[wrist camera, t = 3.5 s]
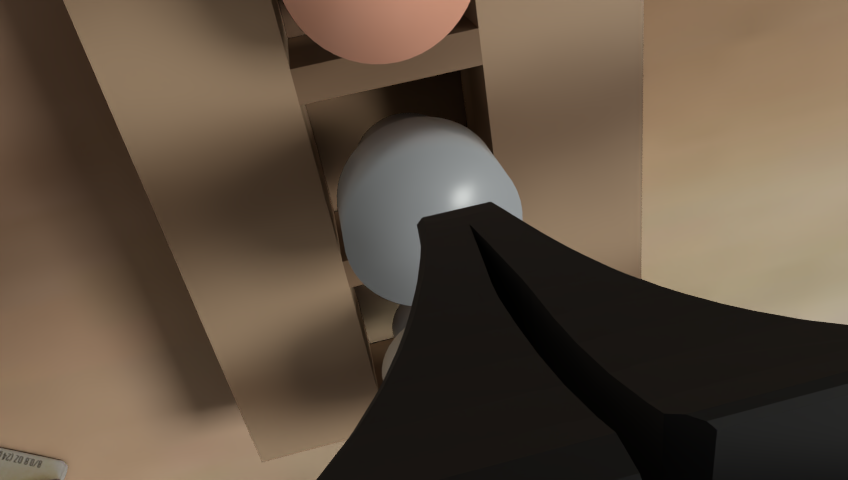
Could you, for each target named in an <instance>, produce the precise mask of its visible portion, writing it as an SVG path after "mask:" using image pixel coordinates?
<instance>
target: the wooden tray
mask: <svg viewBox="0 0 848 480" xmlns="http://www.w3.org/2000/svg"><path fill="white" fill-rule="evenodd" d="M63 1H64V4H65V6H66V8H67V11H68V13H69V15H70V18H71V20H72V22H73V25H74V27H75V29H76V32H77V34H78V36H79V39H80V41H81V43H82V46H83V48H84V50H85V53H86V55H87V57H88V59H89V62H90V64H91V66H92V69H93V71H94V73H95V76H96V78H97V80H98V83H99V85H100V87H101V90H102V92H103V94H104V97H105V99H106V101H107V104H108V106H109V108H110V111H111V113H112V115H113V118H114V120H115V122H116V124H117V127H118V129H119V131H120V134H121V136H122V138H123V141H124V143H125V145H126V148H127V150H128V152H129V155H130V157H131V159H132V162H133V164H134V166H135V169H136V171H137V173H138V176H139V178H140V180H141V183H142V185H143V187H144V190H145V192H146V194H147V196H148V199H149V201H150V203H151V206H152V208H153V210H154V213H155V215H156V217H157V220H158V222H159V224H160V227H161V229H162V231H163V234H164V236H165V238H166V241H167V243H168V245H169V248H170V250H171V252H172V255H173V257H174V259H175V261H176V264H177V266H178V268H179V271H180V273H181V275H182V278H183V280H184V282H185V285H186V287H187V289H188V292H189V294H190V296H191V299H192V301H193V303H194V306H195V308H196V310H197V313H198V315H199V317H200V320H201V322H202V324H203V326H204V329H205V331H206V333H207V336H208V338H209V340H210V343H211V345H212V347H213V350H214V352H215V354H216V357H217V359H218V361H219V364H220V366H221V368H222V371H223V373H224V375H225V378H226V380H227V382H228V385H229V387H230V389H231V391H232V394H233V396H234V398H235V401H236V403H237V405H238V408H239V410H240V412H241V415H242V417H243V419H244V422H245V424H246V426H247V429H248V431H249V433H250V436H251V438H252V440H253V443H254V445H255V447H256V450H257V452H258V454H259V456H260V459H261V461H262V462H265V461H269V460H272V459H276V458H280V457H284V456H287V455H291V454H295V453H299V452H303V451H306V450H310V449H314V448H318V447H322V446H325V445H329V444H333V443H337V442H340V441H344V440H348V438H349V437H350V435H351V434H352V432H353V431H354V429H355V428H356V426H357V424H358V423H359V421H360V420H361V418H362V416H363V415H364V413H365V411H366V410H367V408H368V407H369V405H370V403H371V402H372V400H373V398H374V397H375V395H376V393H377V391H378V390H379V388H380V386H381V384H382V382H383V378H382V364H383V359H384V356H385V353H386V351H387V349H388V347H389V345H390V344H391V343H392V341H393V340H394V338H393V339H389V340H385V341H381V342H377V343H373V344H369V340H368V336H367V333H366V329H365V325H364V321H363V318H362V314H361V310H360V306H359V303H358V299H357V295H356V292H355V288H354V287H355V286H359V285H363V283H362V282H361V281H360V280H359V278H358V277H357V276H356V274H355V273H354V271H353V269H352V268H351V266H350V264H349V261H348V258H347V256H346V252H345V247H344V241H343V236H342V230H341V224H340V219H339V213H338V211H337V212H334V210H333V206H332V202H331V198H330V195H329V191H328V187H327V183H326V180H325V176H324V172H323V169H322V165H321V161H320V157H319V154H318V150H317V146H316V142H315V139H314V135H313V131H312V128H311V124H310V120H309V116H308V113H307V109H306V105H305V104H310V103H314V102H319V101H323V100H328V99H332V98H336V97H341V96H345V95H350V94H354V93H359V92H363V91H368V90H372V89H377V88H381V87H386V86H390V85H395V84H399V83H404V82H408V81H413V80H417V79H422V78H426V77H431V76H435V75H440V74H444V73H448V72H453V71H457V70H460V74H461V81H462V89H463V96H464V103H465V111H466V118H467V125H468V129H470V130H471V131H472V132H474V133H475V134H476V135H478V136H479V137H480V138H481V139H482V141H483V142H484V143H485V144H486V145H487V147H488V148H489V150H490V151H491V152H492V154H493V155H494V157H495V158H496V159H497V161H498V162H499V164H500V165H501V166H502V168H503V169H504V171H505V172H506V173H507V175H508V176H509V178H510V179H511V180H512V182H513V184H514V186H515V187H516V189H517V192H518V195H519V198H520V200H521V206H522V219H523V221H524V222H525V223H527V224H529V225H530V226H532V227H534V228H535V229H537V230H539V231H540V232H542V233H544V234H546V235H547V236H549V237H551V238H553V239H554V240H556V241H558V242H560V243H562V244H564V245H565V246H567V247H569V248H571V249H573V250H575V251H577V252H579V253H581V254H583V255H585V256H587V257H590V258H592V259H594V260H596V261H598V262H600V263H602V264H604V265H607V266H609V267H611V268H614V269H616V270H618V271H621V272H623V273H626V274H628V275H631V276H634V277H636V278H639V279H641V240H642V134H643V28H644V0H470V3H469V5H468V7H467V9H466V11H465V12H464V14H463V16H462V17H461V19H460V20H459V22H458V23H457V24H456V25H455V27H454V28H453V29H452V30H451V31H450V32H449V33H448V34H447V35H446V36H445V37H444V38H443V39H442V40H441V41H440V42H438V43H437V44H436V45H435V46H433V47H432V48H430V49H429V50H427V51H425V52H424V53H422V54H420V55H417V56H415V57H413V58H410V59H407V60H404V61H400V62H396V63H389V64H365V63H359V62H354V61H350V60H347V59H344V58H342V57H339V56H337V55H334V54H333V53H331V52H329V51H327V50H325V49H324V48H322V47H321V46H320V45H318V44H317V43H315V42H314V41H313V40H312V39H311V38H310V37H309V36H307V35H303V36H298V37H294V38H289V39H288V38H287V34H286V31H285V27H284V23H283V19H282V16H281V12H280V8H279V5H278V1H277V0H63Z"/></svg>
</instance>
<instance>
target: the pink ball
mask: <svg viewBox="0 0 848 480" xmlns="http://www.w3.org/2000/svg"><path fill="white" fill-rule="evenodd" d="M283 2H284V4H285V6H286V8H287V10H288V12H289V13H290V15H291V16H292V18H293V19H294V21H295V22H296V23H297V25H298V26H299V27H300V28H301V29H302V31H303V32H304V33H305V34H306V35H307V36H309V37H310V38H311V39H312V40H313V41H314V42H315V43H317V44H318V45H320V46H321V47H322V48H324V49H325V50H327V51H329V52H331V53H333V54H334V55H337V56H339V57H342V58H344V59H347V60H350V61H354V62H359V63H365V64H389V63H396V62H400V61H404V60H407V59H410V58H413V57H415V56H417V55H420V54H422V53H424V52H425V51H427V50H429V49H430V48H432V47H433V46H435V45H436V44H437V43H438V42H440V41H441V40H442V39H443V38H444V37H445V36H446V35H447V34H448V33H449V32H450V31H451V30H452V29H453V28H454V27H455V25H456V24H457V23H458V22H459V20H460V19H461V17H462V16H463V14H464V12H465V11H466V9H467V7H468V5H469V3H470V0H283Z"/></svg>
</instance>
